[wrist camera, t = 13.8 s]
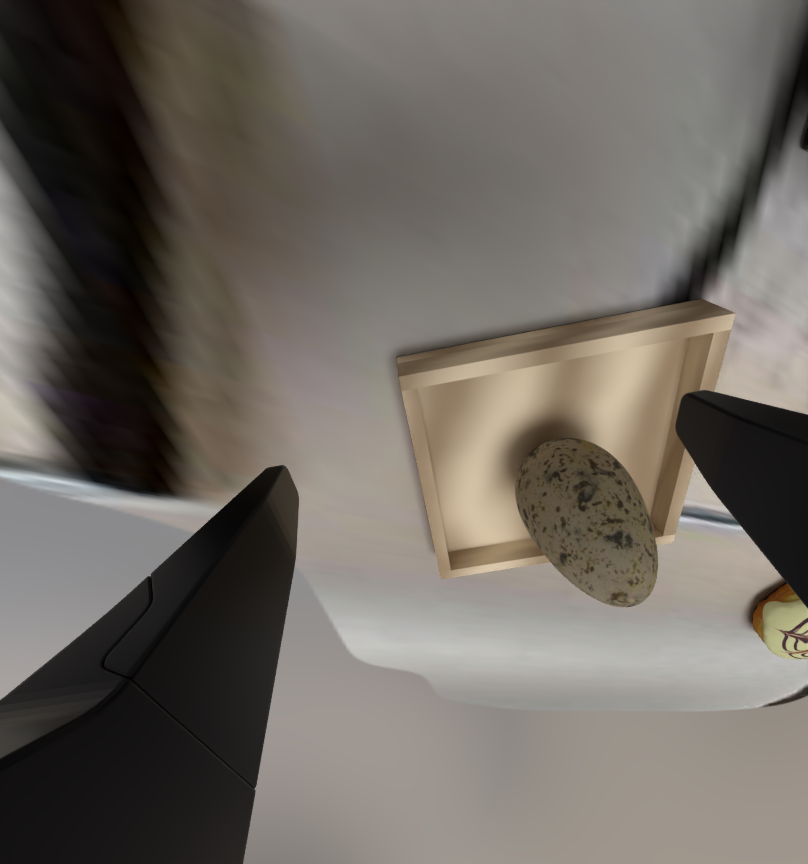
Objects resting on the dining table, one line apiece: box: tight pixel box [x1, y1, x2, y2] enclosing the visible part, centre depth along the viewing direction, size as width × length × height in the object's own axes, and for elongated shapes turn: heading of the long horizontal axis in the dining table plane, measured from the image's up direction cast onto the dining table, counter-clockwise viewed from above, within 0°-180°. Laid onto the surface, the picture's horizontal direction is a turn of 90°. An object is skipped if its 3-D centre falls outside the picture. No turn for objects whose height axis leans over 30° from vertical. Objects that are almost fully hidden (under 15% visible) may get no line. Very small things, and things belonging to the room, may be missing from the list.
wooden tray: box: [397, 299, 736, 579], centre depth 25 cm, size 16×16×2 cm
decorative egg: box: [515, 438, 658, 607], centre depth 21 cm, size 6×6×10 cm
